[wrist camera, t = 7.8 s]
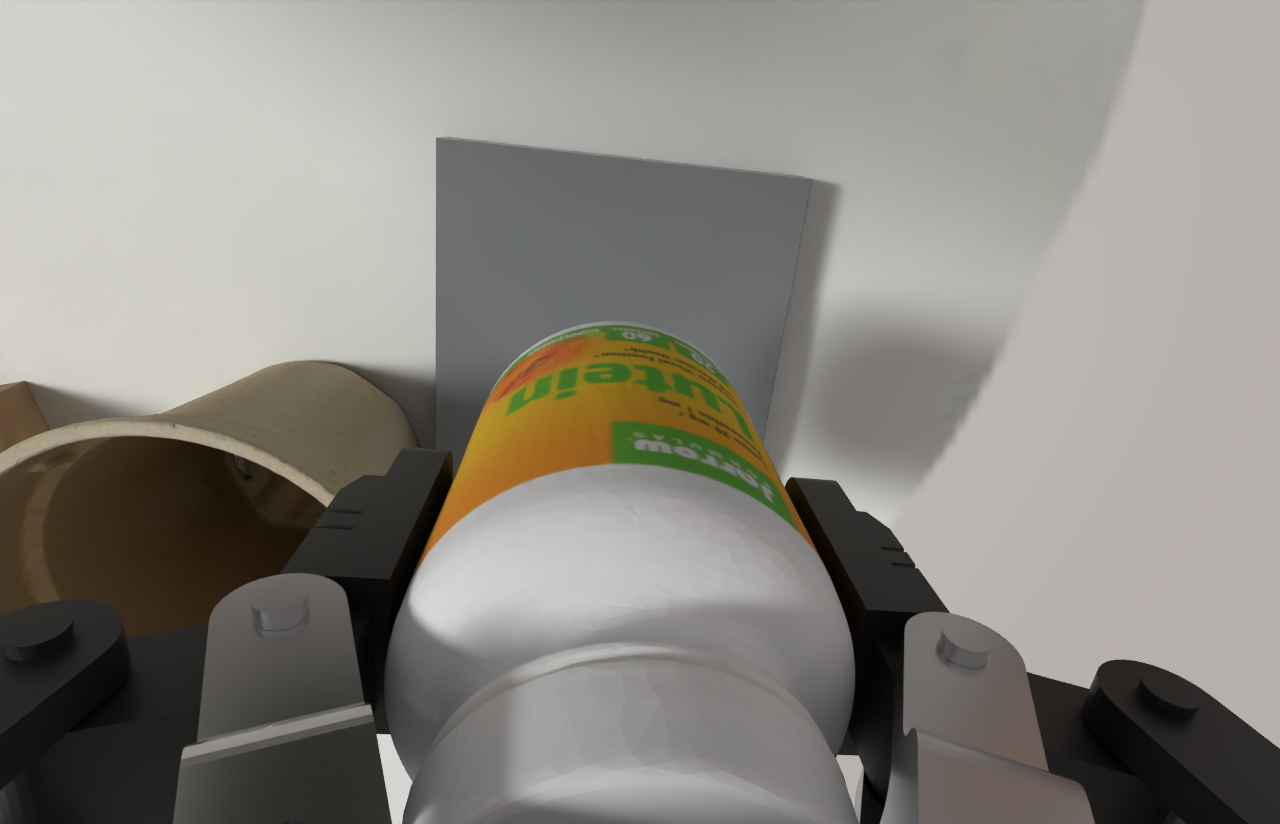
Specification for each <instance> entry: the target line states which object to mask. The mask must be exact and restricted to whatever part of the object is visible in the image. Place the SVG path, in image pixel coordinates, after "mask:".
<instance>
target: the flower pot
mask: <svg viewBox="0 0 1280 824" xmlns="http://www.w3.org/2000/svg"><path fill="white" fill-rule="evenodd" d="M403 447H411V448H418V444H417V440H416V437H415V434H414V432H413V429H412V427H411V425H410V423H409V421H408V419H407V417H406V415H405V414H404V412H403V411H402V409H401V408H400V407H399V405H398V404H397V403H396V402H395V401H394V400H393V399H391V398H390V397H389V396H387V395H386V394H384V393H383V392H382V391H380V390H379V389H377V388H376V387H375V386H373V385H372V384H370V383H369V382H368V381H366V380H365V379H363V378H362V377H360V376H359V375H357V374H356V373H354V372H353V371H351V370H348V369H346V368H343V367H340V366H337V365H333V364H328V363H322V362H314V361H294V362H286V363H281V364H277V365H273V366H270V367H267V368H264V369H262V370H260V371H257V372H255V373H253V374H252V375H250V376H248V377H245V378H243V379H241V380H239V381H237V382H235V383H232V384H230V385H228V386H225V387H223V388H221V389H218V390H216V391H214V392H211V393H209V394H207V395H204V396H202V397H200V398H197V399H195V400H193V401H190V402H188V403H185V404H183V405H181V406H178V407H176V408H174V409H171V410H169V411H167V412H164V413H162V414H155V415H148V416H141V417H114V418H102V419H96V420H90V421H84V422H80V423H75V424H70V425H66V426H63V427H59V428H56V429H52V430H49V431H46V432H43V433H40V434H38V435H35V436H33V437H31V438H28V439H26V440H24V441H22V442H20V443H18V444H15V445H14V446H12V447H10V448H9V449H7V450H5V451H4V452H2V453H0V617H1V616H4V615H6V614H9V613H11V612H14V611H17V610H20V609H23V608H26V607H30V606H33V605H37V604H42V603H46V602H52V601H59V600H70V599H87V600H95V601H100V602H104V603H107V604H109V605H111V606H113V607H115V608H116V609H117V610H118V611H119V612H120V614H121V615H122V617H123V623H124V628H125V633H126V637H128V636H135V635H141V634H148V633H155V632H162V631H169V630H176V629H183V628H189V627H194V626H199V625H203V624H207V623H209V619H210V616H211V613H212V611H213V610H214V608H215V606H216V605H217V604H218V603H219V602H220V601H221V600H222V599H223V598H224V597H225V596H227V595H228V594H229V593H231V592H233V591H234V590H236V589H237V588H239V587H241V586H243V585H245V584H248V583H250V582H253V581H255V580H258V579H262V578H265V577H269V576H274V575H279V574H280V573H281V571H282V570H283V569H284V567H285V566H286V564H287V563H288V562H289V560H290V559H291V557H292V556H293V555H294V553H295V552H296V550H297V549H298V548H299V546H300V545H301V543H302V542H303V541H304V539H305V538H306V536H307V535H308V534H309V532H310V531H311V529H312V528H315V526H316V522H317V521H318V519H319V518H320V515H321V514H323V512H326V510H327V507H328V505H329V504H330V503H331V501H332V500H333V498H334V497H335V496H336V494H337V493H338V491H339V490H340V489H341V488H343V487H345V486H347V485H348V484H350V483H352V482H353V481H355V480H357V479H358V478H360V477H362V476H363V475H378V476H385V475H386V473H387V472H388V470H389V469H390V467H391V465H392V464H393V462H394V460H395V459H396V457H397V455H398V454H399V452H400V450H401V449H402V448H403ZM233 454H235V455H238V456H241V457H243V458H246V460H247V464H248V468H249V470H250V472H251V474H252V476H253V477H252V478H246V477H245V476H244V474H243V473H242V472H241V471H240V470H239V468H238V467H237V465H236V461H235V459H234V457H233Z"/></svg>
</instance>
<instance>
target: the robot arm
mask: <svg viewBox="0 0 1280 824" xmlns="http://www.w3.org/2000/svg"><path fill="white" fill-rule="evenodd" d="M452 482H453V456H452V452H451V451H450V450H437V449H424V448H411V447H403V448H402V449H401V450H400V452H399V454H398V455H397V457H396V459H395V460H394V462H393V464H392V465H391V467H390V469H389V470H388V472H387V473H386V475H385V476H378V475H363V476H362V477H360V478H358V479H357V480H355V481H353V482H352V483H350V484H348V485H347V486H345V487H343V488H341V489H340V490H339V491H338V493H337V494H336V496H335V497H334V498H333V500H332V501H331V503H330V504H329V505H328V507H327V510H326V512H323V514H322V515H321V517H320V518H319V519H318V521H317V522H316V526H315V528H312V529H311V531H310V532H309V534H308V535H307V536H306V538H305V539H304V541H303V542H302V543H301V545H300V546H299V548H298V549H297V550H296V552H295V553H294V555H293V556H292V557H291V559H290V560H289V562H288V563H287V564H286V566H285V567H284V569H283V570H282V571H281V573H280V574H279V575H274V576H269V577H265V578H262V579H258V580H255V581H253V582H250V583H248V584H245V585H243V586H241V587H239V588H237V589H236V590H234V591H233V592H231V593H229V594H228V595H227V596H225V597H224V598H223V599H222V600H221V601H220V602H219V603H218V604H217V605H216V606H215V608H214V610H213V611H212V613H211V616H210V619H209V623H207V624H203V625H199V626H194V627H189V628H183V629H176V630H169V631H162V632H155V633H148V634H141V635H135V636H128V637H126V633H125V628H124V623H123V617H122V615H121V614H120V612H119V611H118V610H117V609H116V608H115V607H113V606H111V605H109V604H107V603H104V602H100V601H95V600H87V599H70V600H59V601H52V602H46V603H42V604H37V605H33V606H30V607H26V608H23V609H20V610H17V611H14V612H11V613H9V614H6V615H4V616H1V617H0V824H392V821H391V815H390V810H389V804H388V798H387V793H386V787H385V781H384V775H383V770H382V764H381V758H380V753H379V747H378V741H377V735H376V734H390V730H389V725H388V720H387V715H386V710H385V699H384V671H385V663H386V657H387V651H388V645H389V641H390V637H391V634H392V630H393V627H394V623H395V620H396V617H397V615H398V612H399V610H400V607H401V604H402V602H403V599H404V596H405V593H406V591H407V588H408V586H409V583H410V581H411V578H412V576H413V573H414V571H415V568H416V565H417V563H418V561H419V559H420V557H421V555H422V552H423V550H424V548H425V545H426V543H427V540H428V538H429V536H430V533H431V531H432V529H433V526H434V524H435V522H436V519H437V517H438V515H439V512H440V510H441V508H442V505H443V503H444V501H445V498H446V496H447V494H448V491H449V489H450V487H451V484H452ZM785 490H786V492H787V493H788V495H789V497H790V499H791V501H792V503H793V505H794V507H795V509H796V511H797V513H798V515H799V517H800V519H801V521H802V523H803V525H804V527H805V529H806V531H807V532H808V534H809V536H810V538H811V540H812V542H813V544H814V546H815V548H816V550H817V552H818V554H819V556H820V558H821V560H822V562H823V564H824V566H825V568H826V570H827V572H828V574H829V576H830V578H831V581H832V583H833V586H834V588H835V591H836V593H837V595H838V598H839V601H840V603H841V606H842V608H843V611H844V614H845V616H846V620H847V624H848V627H849V631H850V634H851V639H852V645H853V651H854V661H855V692H854V699H853V707H852V712H851V717H850V721H849V725H848V728H847V731H846V734H845V737H844V740H843V743H842V745H841V748H840V750H839V752H838V754H837V755H859V757H860V759H861V762H862V764H863V769H862V772H861V776H860V779H859V783H858V786H857V790H856V797H855V809H854V810H855V813H856V816H857V819H858V822H859V824H1280V749H1279V748H1278V747H1277V746H1275V745H1274V744H1272V743H1271V742H1270V741H1269V740H1268V739H1266V738H1265V737H1264V736H1262V735H1261V734H1260V733H1258V732H1257V731H1256V730H1255V729H1253V728H1252V727H1251V726H1249V725H1248V724H1247V723H1246V722H1244V721H1243V720H1242V719H1240V718H1239V717H1238V716H1236V715H1235V714H1234V713H1233V712H1231V711H1230V710H1229V709H1227V708H1226V707H1225V706H1223V705H1222V704H1221V703H1220V702H1218V701H1217V700H1216V699H1214V698H1213V697H1212V696H1210V695H1209V694H1208V693H1206V692H1205V691H1203V690H1202V689H1201V688H1199V687H1197V686H1196V685H1194V684H1193V683H1191V682H1189V681H1187V680H1185V679H1184V678H1182V677H1180V676H1178V675H1175V674H1173V673H1171V672H1169V671H1167V670H1164V669H1161V668H1159V667H1156V666H1153V665H1149V664H1146V663H1142V662H1137V661H1132V660H1131V661H1130V660H1113V661H1108V662H1105V663H1103V664H1102V665H1101V666H1100V667H1099V668H1098V671H1097V673H1096V675H1095V678H1094V680H1093V682H1092V685H1091V687H1090V689H1087V688H1083V687H1080V686H1076V685H1072V684H1068V683H1065V682H1060V681H1057V680H1054V679H1050V678H1046V677H1042V676H1039V675H1035V674H1032V673H1029V672H1026V668H1025V664H1024V662H1023V659H1022V657H1021V656H1020V654H1019V653H1018V651H1017V650H1016V649H1015V648H1014V647H1013V646H1012V644H1010V643H1009V642H1008V641H1007V640H1006V639H1005V638H1003V637H1002V636H1001V635H1000V634H998V633H997V632H995V631H993V630H992V629H990V628H988V627H987V626H985V625H983V624H981V623H978V622H976V621H974V620H971V619H969V618H966V617H962V616H959V615H955V614H951V613H950V612H949V611H948V609H947V608H946V607H945V605H944V604H943V602H942V601H941V600H940V598H939V597H938V596H937V594H936V593H935V591H934V590H933V589H932V587H931V586H930V584H929V583H928V582H927V580H926V579H925V577H924V576H923V575H922V573H921V572H920V571H919V569H917V568H915V563H914V562H913V561H912V559H911V558H910V556H909V555H908V554H907V552H904V548H903V547H902V545H901V544H900V542H899V541H898V540H897V538H896V537H895V536H894V534H893V533H892V531H891V530H890V529H889V528H888V527H886V526H885V525H883V524H882V523H881V522H879V521H878V520H877V519H875V518H874V517H872V516H871V515H870V514H868V513H867V512H861V511H856V509H855V508H854V506H853V505H852V503H851V502H850V500H849V499H848V497H847V496H846V494H845V493H844V491H843V490H842V488H841V487H840V485H839V484H838V483H837V482H836V481H833V480H820V479H807V478H794V477H791V478H790V479H789V480H788V481H787V483H786V485H785Z"/></svg>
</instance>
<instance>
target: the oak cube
mask: <svg viewBox="0 0 1280 824" xmlns="http://www.w3.org/2000/svg"><path fill="white" fill-rule="evenodd" d="M49 430H50V428H49V427H48V425H47V423H46V421H45V419H44V417H43V415H42V413H41V411H40V409H39V407H38V405H37V404H36V402H35V400H34V398H33V396H32V394H31V392H30V390H29V388H28V386H27V384H26V382H25V381H22V382H16V383H10V384H5V385H0V453H2V452H4V451H5V450H7V449H9V448H10V447H12V446H14V445H15V444H18V443H20V442H22V441H24V440H26V439H28V438H31V437H33V436H35V435H38V434H40V433H43V432H46V431H49Z"/></svg>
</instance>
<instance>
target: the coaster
mask: <svg viewBox="0 0 1280 824" xmlns="http://www.w3.org/2000/svg"><path fill="white" fill-rule="evenodd" d="M811 181H812V179H808V178H805V177H801V176H793V175H784V174H775V173H766V172H757V171H748V170H739V169H730V168H721V167H712V166H703V165H694V164H685V163H676V162H667V161H658V160H649V159H640V158H631V157H622V156H613V155H604V154H595V153H586V152H577V151H568V150H559V149H550V148H541V147H532V146H523V145H514V144H505V143H496V142H487V141H478V140H469V139H460V138H451V137H439V138H436V449H437V450H450V451H451V452H452V456H453V480H454V477H455V475H456V473H457V470H458V468H459V465H460V463H461V460H462V458H463V455H464V453H465V451H466V448H467V446H468V443H469V441H470V438H471V436H472V434H473V431H474V429H475V426H476V424H477V422H478V419H479V417H480V414H481V412H482V409H483V407H484V405H485V403H486V401H487V399H488V397H489V395H490V393H491V391H492V389H493V388H494V386H495V384H496V383H497V381H498V380H499V378H500V377H501V376H502V374H503V373H504V371H505V370H506V369H507V368H508V367H509V366H510V365H511V364H512V362H513V361H514V360H516V359H517V358H518V357H519V356H520V355H521V354H522V353H523V352H525V351H526V350H528V349H529V348H530V347H532V346H533V345H535V344H536V343H538V342H539V341H541V340H543V339H545V338H547V337H548V336H551V335H553V334H555V333H557V332H559V331H562V330H565V329H568V328H571V327H575V326H578V325H582V324H587V323H593V322H603V321H624V322H635V323H640V324H645V325H649V326H654V327H657V328H660V329H663V330H665V331H668V332H670V333H672V334H675V335H677V336H679V337H681V338H682V339H684V340H686V341H688V342H690V343H691V344H693V345H694V346H695V347H697V348H698V349H700V350H701V351H702V352H703V353H705V354H706V355H707V356H708V357H709V358H710V359H712V360H713V362H714V363H715V364H716V365H717V366H718V367H719V368H720V369H721V370H722V372H723V373H724V374H725V376H726V377H727V379H728V380H729V382H730V383H731V384H732V386H733V388H734V389H735V391H736V393H737V394H738V396H739V398H740V399H741V401H742V403H743V405H744V408H745V410H746V411H747V413H748V415H749V417H750V420H751V422H752V424H753V426H754V428H755V430H756V432H757V433H758V436H759V438H760V440H761V442H762V444H763V439H764V433H765V428H766V423H767V417H768V412H769V406H770V401H771V396H772V390H773V385H774V380H775V374H776V369H777V364H778V358H779V353H780V347H781V342H782V337H783V331H784V326H785V321H786V315H787V310H788V304H789V299H790V294H791V288H792V283H793V278H794V272H795V267H796V262H797V256H798V251H799V245H800V240H801V235H802V229H803V224H804V219H805V213H806V208H807V203H808V197H809V192H810V186H811Z"/></svg>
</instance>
